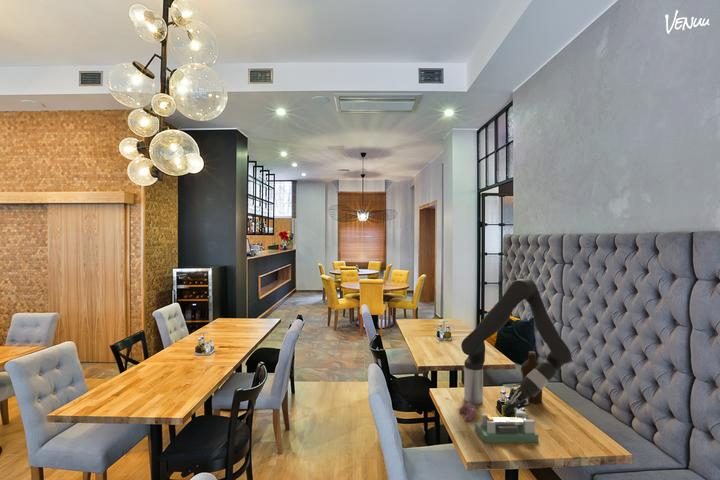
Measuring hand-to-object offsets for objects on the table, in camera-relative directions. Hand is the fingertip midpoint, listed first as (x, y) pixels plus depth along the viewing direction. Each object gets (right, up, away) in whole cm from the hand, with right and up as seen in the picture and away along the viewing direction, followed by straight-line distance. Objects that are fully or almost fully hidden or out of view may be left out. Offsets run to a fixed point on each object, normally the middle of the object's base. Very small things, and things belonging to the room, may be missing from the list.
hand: (505, 411), depth 157 cm
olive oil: (+28, -11, +36) cm, 47 cm away
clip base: (0, -10, 0) cm, 10 cm away
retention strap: (+1, -5, 0) cm, 5 cm away
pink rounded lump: (-11, -11, +17) cm, 23 cm away
